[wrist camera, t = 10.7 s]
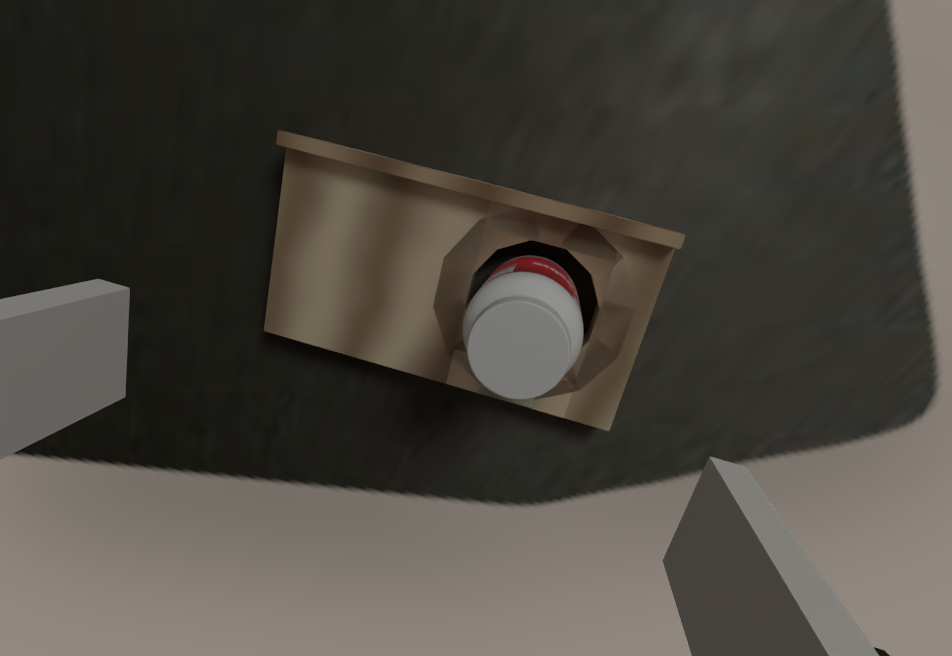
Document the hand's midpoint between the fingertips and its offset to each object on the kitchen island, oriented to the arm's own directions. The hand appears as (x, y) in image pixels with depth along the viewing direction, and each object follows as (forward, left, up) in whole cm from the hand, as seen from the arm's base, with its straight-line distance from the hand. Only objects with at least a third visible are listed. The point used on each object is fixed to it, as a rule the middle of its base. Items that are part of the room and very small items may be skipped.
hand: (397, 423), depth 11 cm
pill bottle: (+2, -2, -23) cm, 23 cm away
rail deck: (-3, -2, -23) cm, 23 cm away
